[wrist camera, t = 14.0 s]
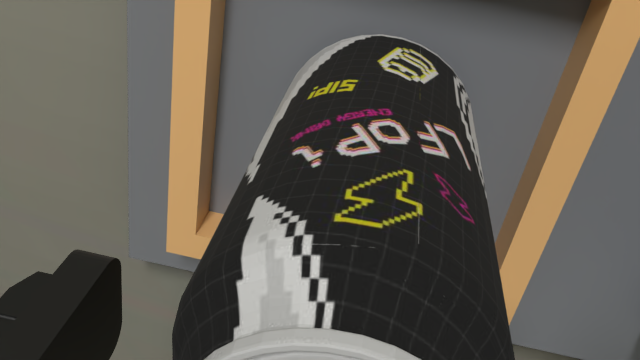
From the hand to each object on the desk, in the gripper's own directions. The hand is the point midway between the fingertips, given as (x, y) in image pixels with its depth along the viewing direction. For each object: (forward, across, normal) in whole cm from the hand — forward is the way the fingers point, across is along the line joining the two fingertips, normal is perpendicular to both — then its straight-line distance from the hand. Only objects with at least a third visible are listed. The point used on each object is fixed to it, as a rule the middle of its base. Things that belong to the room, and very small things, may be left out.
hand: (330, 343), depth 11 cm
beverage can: (+10, 0, 0) cm, 10 cm away
